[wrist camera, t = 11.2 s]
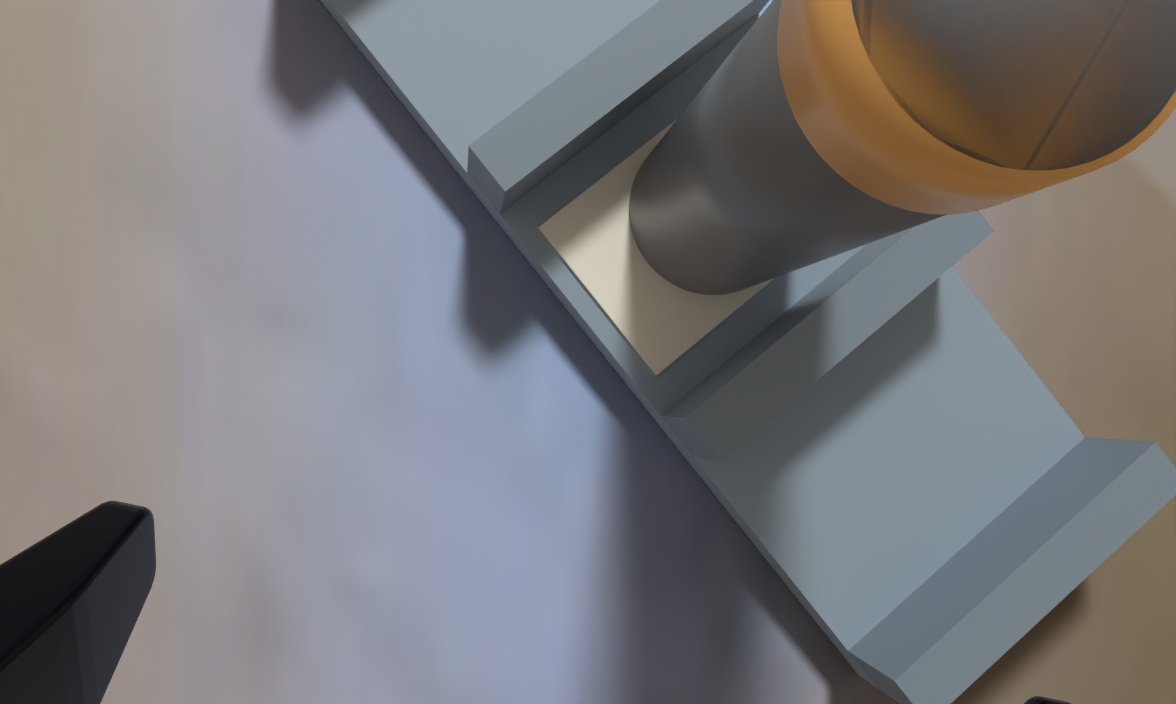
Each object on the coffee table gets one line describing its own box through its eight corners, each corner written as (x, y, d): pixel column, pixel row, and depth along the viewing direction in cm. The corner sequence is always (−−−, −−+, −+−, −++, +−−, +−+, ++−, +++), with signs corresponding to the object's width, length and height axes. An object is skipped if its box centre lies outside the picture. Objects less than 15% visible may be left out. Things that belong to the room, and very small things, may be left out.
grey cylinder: (767, 323, 23) (1151, 234, 11) (601, 265, 23) (789, 100, 10) (818, 158, 24) (1248, -122, 11) (656, 98, 23) (904, -269, 10)
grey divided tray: (858, 674, 25) (928, 724, 21) (276, -54, 24) (244, -137, 20) (1083, 471, 26) (1187, 483, 22) (537, -236, 25) (551, -347, 21)
